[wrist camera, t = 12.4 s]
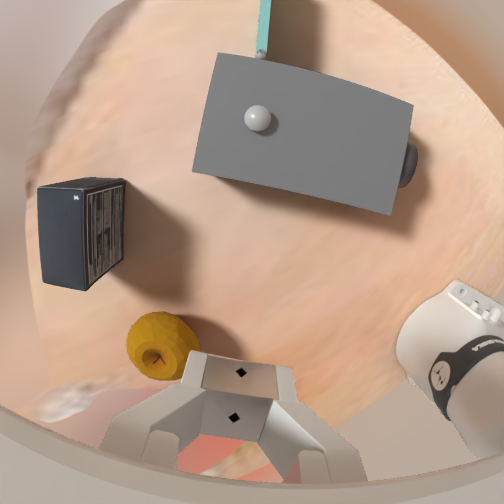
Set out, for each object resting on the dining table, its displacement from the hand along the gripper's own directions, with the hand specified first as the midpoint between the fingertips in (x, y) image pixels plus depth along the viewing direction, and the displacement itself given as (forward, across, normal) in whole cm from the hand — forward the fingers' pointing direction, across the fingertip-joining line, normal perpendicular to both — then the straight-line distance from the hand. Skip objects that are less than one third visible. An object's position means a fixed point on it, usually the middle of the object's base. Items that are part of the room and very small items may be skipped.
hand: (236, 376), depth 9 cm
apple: (+29, -7, -17) cm, 35 cm away
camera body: (+29, +5, +10) cm, 31 cm away
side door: (+29, -3, +23) cm, 37 cm away
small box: (+29, -18, -4) cm, 35 cm away
